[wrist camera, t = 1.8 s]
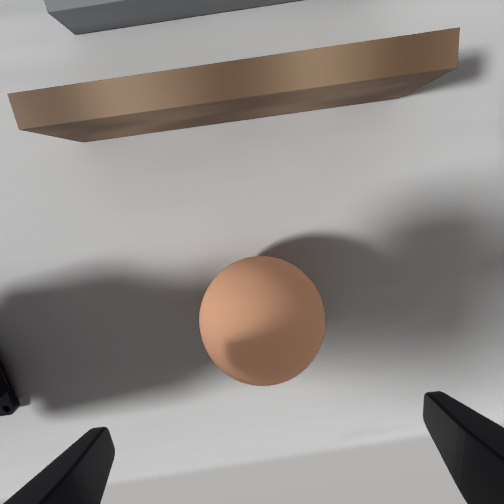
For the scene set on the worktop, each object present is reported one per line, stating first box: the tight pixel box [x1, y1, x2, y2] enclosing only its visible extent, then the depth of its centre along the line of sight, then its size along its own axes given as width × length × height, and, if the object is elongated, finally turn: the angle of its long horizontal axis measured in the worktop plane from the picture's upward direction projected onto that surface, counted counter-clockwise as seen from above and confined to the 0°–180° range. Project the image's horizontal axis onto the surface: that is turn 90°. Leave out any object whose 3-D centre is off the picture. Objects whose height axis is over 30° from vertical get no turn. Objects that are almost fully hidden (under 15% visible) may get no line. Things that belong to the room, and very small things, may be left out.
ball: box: [199, 256, 325, 386], centre depth 13 cm, size 6×6×6 cm
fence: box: [8, 28, 460, 142], centre depth 12 cm, size 16×1×4 cm, turn 97°
